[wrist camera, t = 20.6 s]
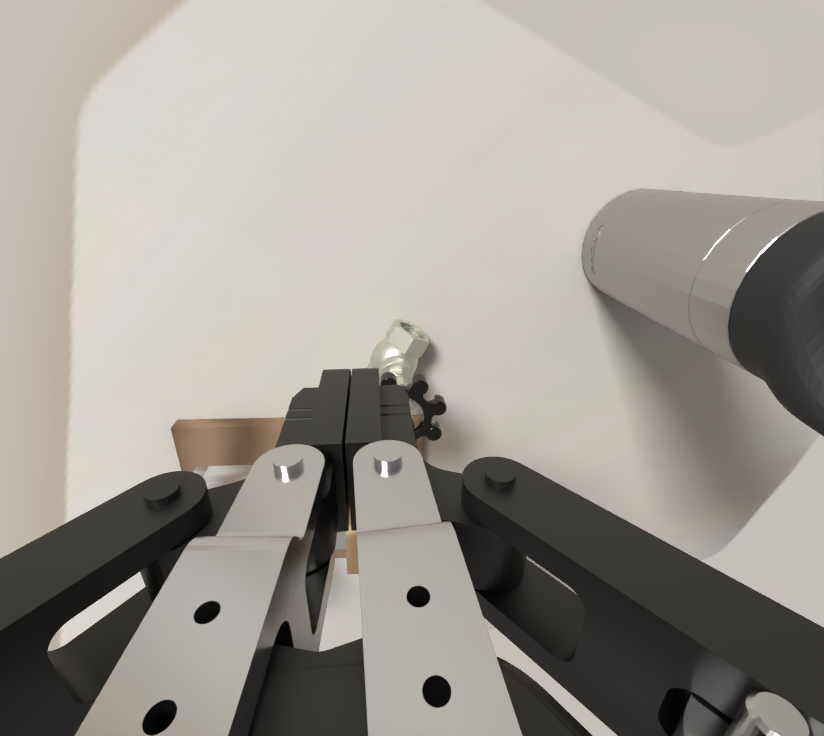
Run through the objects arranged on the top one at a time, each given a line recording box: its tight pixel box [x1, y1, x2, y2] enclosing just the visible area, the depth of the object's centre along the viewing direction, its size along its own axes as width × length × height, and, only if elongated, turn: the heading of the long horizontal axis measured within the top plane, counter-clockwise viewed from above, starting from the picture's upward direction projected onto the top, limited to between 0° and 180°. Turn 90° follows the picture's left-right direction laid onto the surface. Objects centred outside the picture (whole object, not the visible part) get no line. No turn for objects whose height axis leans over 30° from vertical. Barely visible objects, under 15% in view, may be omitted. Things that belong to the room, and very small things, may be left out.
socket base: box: [171, 415, 424, 574], centre depth 42 cm, size 24×18×9 cm
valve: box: [367, 320, 446, 450], centre depth 35 cm, size 7×7×12 cm
